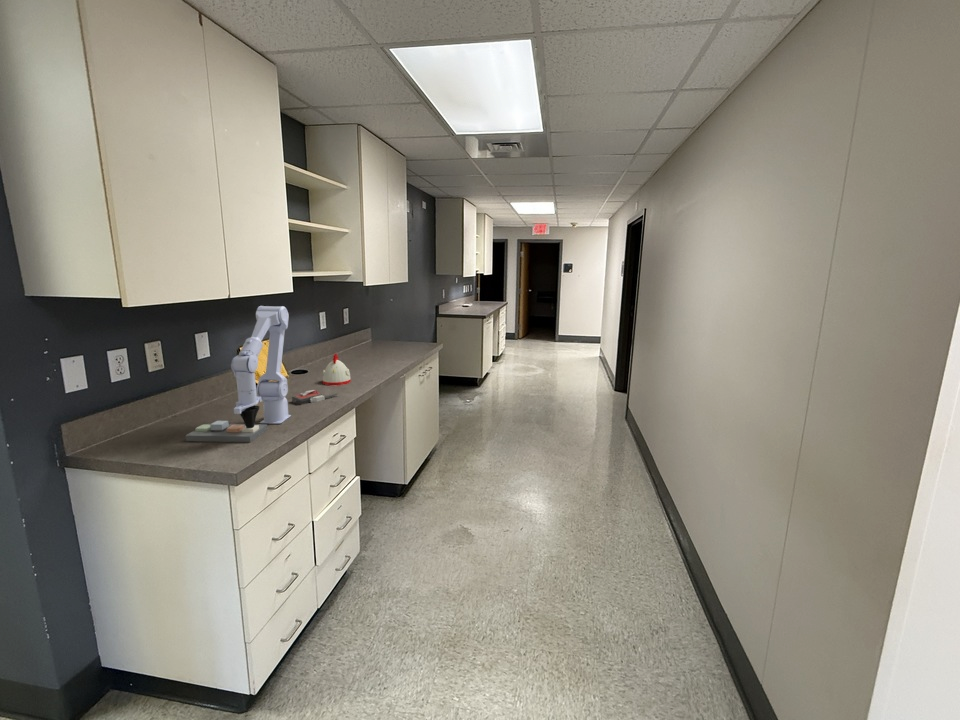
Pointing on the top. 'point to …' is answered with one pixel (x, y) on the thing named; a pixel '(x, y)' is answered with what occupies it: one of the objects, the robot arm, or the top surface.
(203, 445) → the top surface
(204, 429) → the key sage
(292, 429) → the top surface
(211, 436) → the grey slotted tray
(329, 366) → the kitchen timer
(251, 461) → the top surface
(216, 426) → the key slate
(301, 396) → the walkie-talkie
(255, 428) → the key ivory
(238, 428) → the key terracotta
